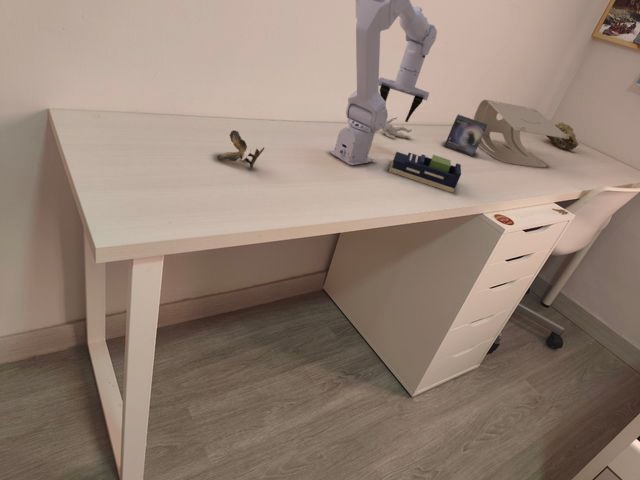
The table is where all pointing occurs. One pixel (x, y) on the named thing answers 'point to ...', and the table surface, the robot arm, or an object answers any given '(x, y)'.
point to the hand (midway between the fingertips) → (393, 117)
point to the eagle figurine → (240, 150)
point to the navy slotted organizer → (425, 171)
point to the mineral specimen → (563, 142)
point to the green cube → (440, 163)
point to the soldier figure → (394, 129)
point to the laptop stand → (513, 131)
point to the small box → (465, 135)
